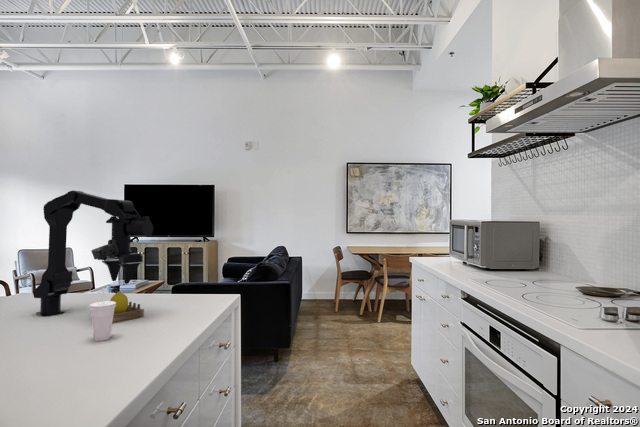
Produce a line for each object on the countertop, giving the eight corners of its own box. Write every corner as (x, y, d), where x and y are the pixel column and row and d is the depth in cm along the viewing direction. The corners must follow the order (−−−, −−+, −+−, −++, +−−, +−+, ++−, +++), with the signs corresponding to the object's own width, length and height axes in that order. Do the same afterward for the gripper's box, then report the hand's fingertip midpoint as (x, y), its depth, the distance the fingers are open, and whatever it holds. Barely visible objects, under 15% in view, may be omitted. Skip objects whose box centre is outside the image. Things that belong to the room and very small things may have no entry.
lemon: (119, 318, 116) (120, 294, 116) (105, 317, 117) (105, 293, 117) (131, 314, 121) (132, 290, 121) (117, 313, 122) (118, 290, 123)
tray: (94, 318, 118) (94, 306, 118) (128, 311, 127) (128, 300, 127) (109, 324, 111) (109, 311, 111) (143, 316, 120) (143, 305, 120)
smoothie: (86, 343, 93) (88, 290, 93) (89, 336, 99) (91, 287, 99) (114, 340, 96) (116, 288, 96) (116, 333, 102) (117, 285, 102)
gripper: (83, 236, 119) (82, 282, 119) (108, 237, 108) (106, 288, 108) (118, 235, 128) (117, 278, 128) (144, 236, 117) (143, 283, 117)
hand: (120, 282), depth 120 cm, fingers open, 9 cm apart
